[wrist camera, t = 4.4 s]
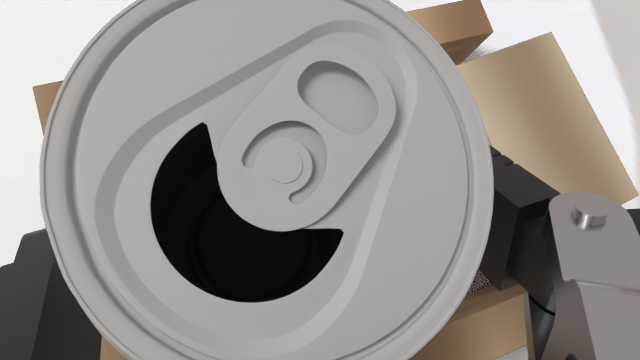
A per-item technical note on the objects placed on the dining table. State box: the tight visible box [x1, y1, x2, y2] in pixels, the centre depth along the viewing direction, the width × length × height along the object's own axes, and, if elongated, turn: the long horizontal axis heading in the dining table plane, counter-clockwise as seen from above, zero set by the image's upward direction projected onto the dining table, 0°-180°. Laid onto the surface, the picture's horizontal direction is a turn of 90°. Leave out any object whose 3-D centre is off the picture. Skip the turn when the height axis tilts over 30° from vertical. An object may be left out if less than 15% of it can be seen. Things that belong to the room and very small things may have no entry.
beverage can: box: [40, 0, 494, 360], centre depth 11 cm, size 6×6×12 cm
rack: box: [33, 0, 527, 360], centre depth 16 cm, size 17×13×3 cm
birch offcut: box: [456, 32, 639, 205], centre depth 15 cm, size 4×6×3 cm, turn 24°
